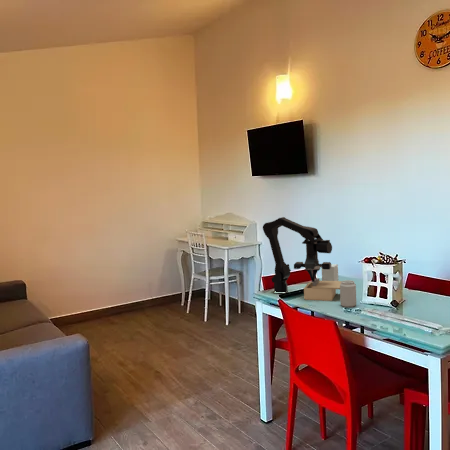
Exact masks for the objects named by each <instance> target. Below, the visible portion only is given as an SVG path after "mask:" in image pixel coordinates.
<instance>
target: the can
mask: <svg viewBox="0 0 450 450" xmlns="http://www.w3.org/2000/svg"><path fill="white" fill-rule="evenodd" d="M340 281H341V280H340ZM339 299H340V303H339V304H340V305H341V306H342V307H344V308H354V307H356V305H357V285H356V283H355V281H354V280H350V279H346V280H345V279H344V280H342V281H341V284H340V289H339Z"/></svg>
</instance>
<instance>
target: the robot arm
mask: <svg viewBox="0 0 450 450" xmlns="http://www.w3.org/2000/svg"><path fill="white" fill-rule="evenodd" d="M280 227H284V228H286V229H289V230H290V231H293V232H295V233H298V234H299V235H300V236H301V237H302V238H303V239H304V240H303V241H302V242H301V244H304V245H305V251H306V255H305V256H306V257H305V261H304V262H303V261H296V262H295V263H294V264H293V270H299V269H301V268H304V270H305V271H306V272H307V274H309V277H310V280H311V282H313V281H314V280H315V279H316V278H317V277H316V276H317V273H318V272H319V271H320V270H321V269H322V268H323V269H330V268H331V264H332V263H331V262H330V261H329V262H328V261H323V262H322V263H320V261H319V257H318V256H319V255H318V254H331V253H332V251H333V245H332V242H331V240H330V239H323V238H322V236H321V235H320V233H319V231H318V229H317V228H315V227H312V226H306V225H303V224H301V223H298V222H295V221H293V220H290V219H289V218H287V217H286V216H285V217H284V216H282V217H278V218H277V219H275V220H272V221H270V222H269V221H268V222H265V223H264V224H263V225H262V230H263V233H264V235H265V237H266V238H267V239H268V241H269V244H270V249H271V251H272V256H273V260H274V263H275V266H274V275H273V277H272V278H271V282H272V283H273V292H274V291H276V292H286V293H287V292H288V290H289V289H288V283H287V281H288V279H289V277H290V276H291V271H292V270H291V268H290V264H289V263H286V262H285V260H284V256H283V253H282V249H281V245H280V241H279V238H278V237H279V236H278V235H279V228H280ZM321 267H322V268H321Z"/></svg>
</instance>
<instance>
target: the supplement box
mask: <svg viewBox="0 0 450 450" xmlns="http://www.w3.org/2000/svg"><path fill="white" fill-rule="evenodd" d="M338 266H339V264H335V263H334V264H333V263H331V268H330V269H323V268H322V267H320V269H321V281H340V280H339V267H338Z"/></svg>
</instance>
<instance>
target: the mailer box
mask: <svg viewBox="0 0 450 450" xmlns="http://www.w3.org/2000/svg"><path fill="white" fill-rule="evenodd" d="M312 286H313V282H312V281H309V282H308V283H307V284H306V285H305V286H304V287H303V297H304V300H305V301H323V302H324V301H325V302H326V301H328V302H333V300H334V298H335V296H336V295H337V289H312Z"/></svg>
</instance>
